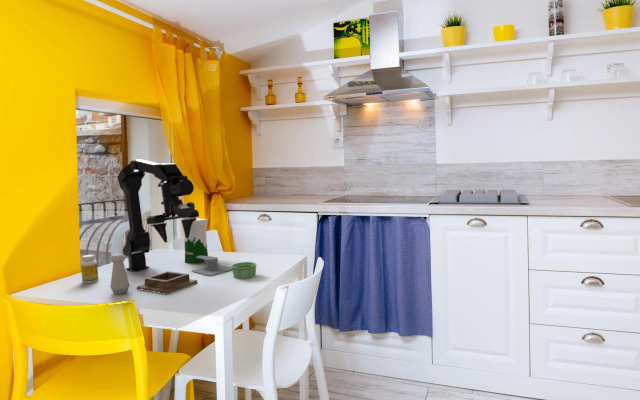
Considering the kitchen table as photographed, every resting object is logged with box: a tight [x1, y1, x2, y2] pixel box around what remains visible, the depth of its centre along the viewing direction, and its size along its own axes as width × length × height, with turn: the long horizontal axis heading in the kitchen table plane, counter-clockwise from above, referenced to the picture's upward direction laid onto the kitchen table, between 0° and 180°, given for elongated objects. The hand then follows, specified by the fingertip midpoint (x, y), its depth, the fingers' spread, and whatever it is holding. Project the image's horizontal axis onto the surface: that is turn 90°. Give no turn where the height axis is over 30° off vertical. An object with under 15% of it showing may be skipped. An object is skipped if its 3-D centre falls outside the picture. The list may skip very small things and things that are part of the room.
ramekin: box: [231, 261, 257, 280], centre depth 169 cm, size 9×9×4 cm
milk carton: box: [180, 217, 209, 265], centre depth 194 cm, size 9×9×20 cm
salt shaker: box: [110, 253, 131, 295], centre depth 152 cm, size 6×6×13 cm
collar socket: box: [136, 270, 198, 295], centre depth 159 cm, size 14×14×4 cm
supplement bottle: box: [80, 254, 99, 284], centre depth 168 cm, size 5×5×10 cm
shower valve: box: [190, 255, 233, 277], centre depth 179 cm, size 12×6×15 cm
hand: (176, 240), depth 167 cm, fingers open, 9 cm apart
